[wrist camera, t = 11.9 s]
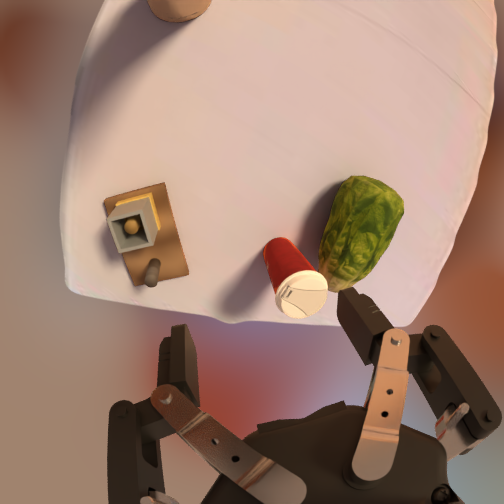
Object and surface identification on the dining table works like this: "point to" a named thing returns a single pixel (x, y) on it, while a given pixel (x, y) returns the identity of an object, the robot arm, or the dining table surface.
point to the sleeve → (145, 233)
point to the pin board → (165, 246)
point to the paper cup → (294, 279)
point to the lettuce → (358, 230)
